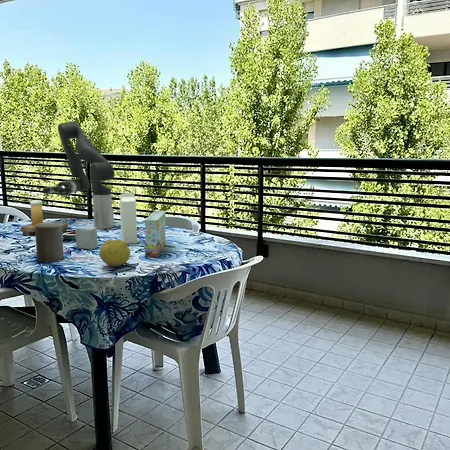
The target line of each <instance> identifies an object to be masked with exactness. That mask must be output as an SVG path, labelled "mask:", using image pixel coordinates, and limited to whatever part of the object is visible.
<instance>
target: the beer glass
mask: <svg viewBox="0 0 450 450" xmlns="http://www.w3.org/2000/svg"><path fill="white" fill-rule="evenodd" d="M29 202H30V203H29V205H30V214H31V215H30V216H31V223H32V225H36V224H39V223H43V222H44V218H43V200H39V199H38V200H37V199H35V200H34V199H33V200H29Z"/></svg>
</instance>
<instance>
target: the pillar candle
mask: <svg viewBox="0 0 450 450" xmlns="http://www.w3.org/2000/svg"><path fill="white" fill-rule="evenodd" d="M47 222H48V223H39V224H36V225H35V233H34V234H35V247H36V261H37V262H40V263H54V262H53V261H56V262H59V261H58V260H60V261H62V260H63V259H64V240H63V239H64V237H63V233H62V224H61V223H62V222H52V221H51V222H50V221H47Z"/></svg>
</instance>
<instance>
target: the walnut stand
mask: <svg viewBox="0 0 450 450" xmlns="http://www.w3.org/2000/svg"><path fill="white" fill-rule="evenodd" d="M48 222H49V221H48ZM48 222H46V221H43V223H48ZM60 223H61V224H62V232H64V231H66V232H67V231H68V228H69V223H67V222H60ZM20 232H22V236H31V235H33V234H35V225H32V222H31V223H29V224H26V225H22V226H20ZM64 233H65V232H64Z"/></svg>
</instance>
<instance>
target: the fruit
mask: <svg viewBox="0 0 450 450" xmlns="http://www.w3.org/2000/svg"><path fill="white" fill-rule="evenodd" d="M98 255H99V258H100V260H102V262H103V263H105V264H106V265H108V266H110V267H119V266H122V265H124V264H126V263H127V262H128V261H129V259H130V255H131V251H130V247H129V246H128V244H126V243H125V242H124V241H123V240H121V239H120V238H115V239H111V238H110V239H108V240H105V241H104V242H103V243H102V244H101V246H100V249H99V253H98Z"/></svg>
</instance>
